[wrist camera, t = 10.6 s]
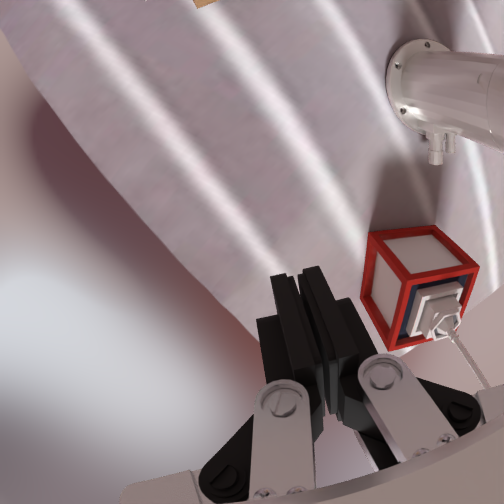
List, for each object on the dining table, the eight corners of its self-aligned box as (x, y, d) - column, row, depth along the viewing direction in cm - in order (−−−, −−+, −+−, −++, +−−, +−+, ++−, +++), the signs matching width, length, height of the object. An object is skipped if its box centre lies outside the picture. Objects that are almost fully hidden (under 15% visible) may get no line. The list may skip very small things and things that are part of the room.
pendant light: (359, 298, 48) (445, 475, 22) (368, 232, 42) (499, 420, 16) (420, 287, 48) (518, 434, 22) (434, 224, 42) (571, 372, 17)
